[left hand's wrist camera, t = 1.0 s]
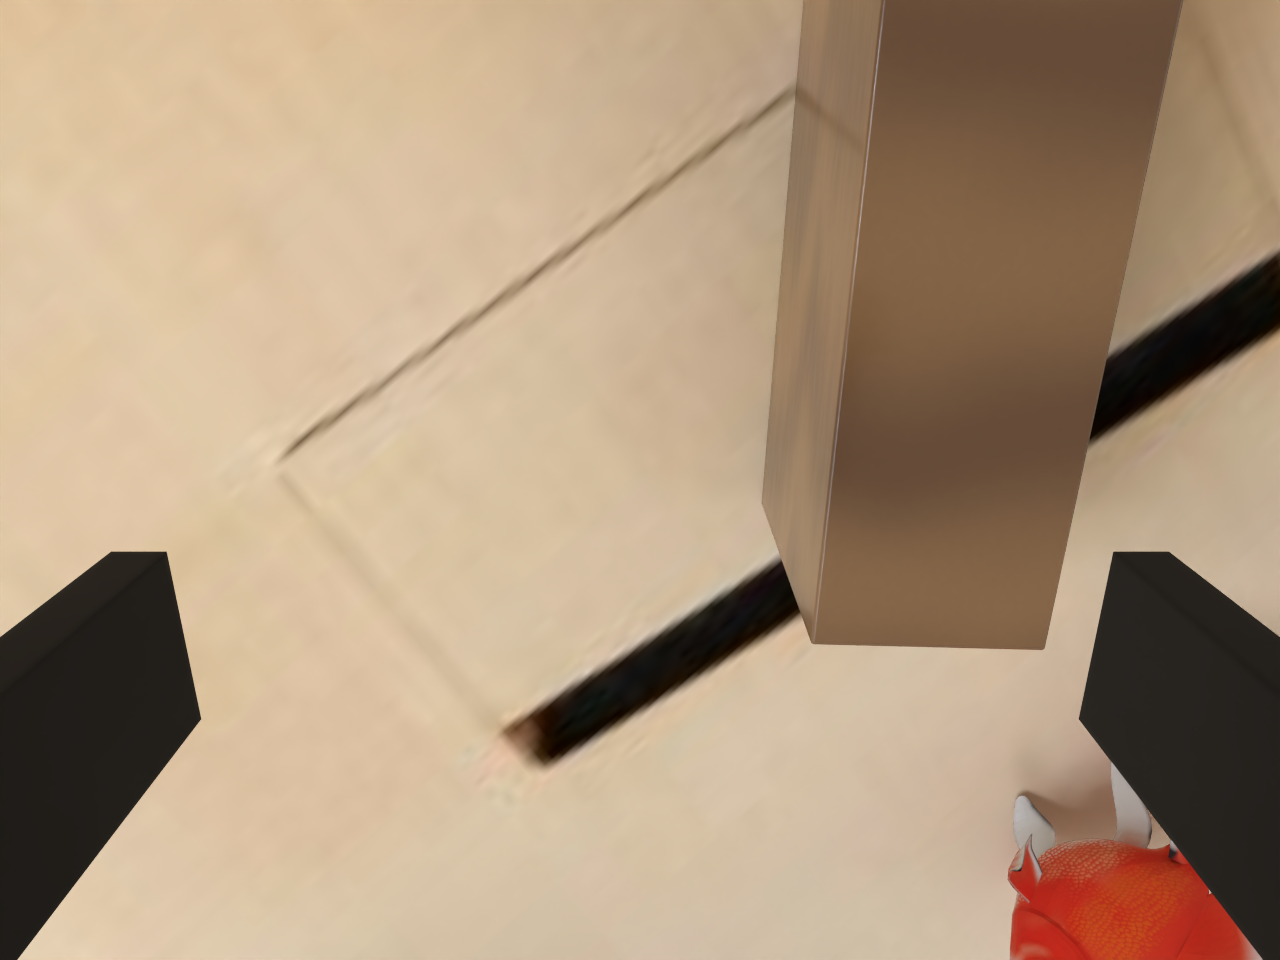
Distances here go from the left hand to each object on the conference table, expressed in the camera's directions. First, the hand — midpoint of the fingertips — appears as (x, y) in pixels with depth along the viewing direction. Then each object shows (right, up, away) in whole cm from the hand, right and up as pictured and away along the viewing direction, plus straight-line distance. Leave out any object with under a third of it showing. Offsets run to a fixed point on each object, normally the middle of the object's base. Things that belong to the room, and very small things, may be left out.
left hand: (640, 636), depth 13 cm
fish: (+19, -9, +23) cm, 31 cm away
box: (+8, +14, +15) cm, 22 cm away
